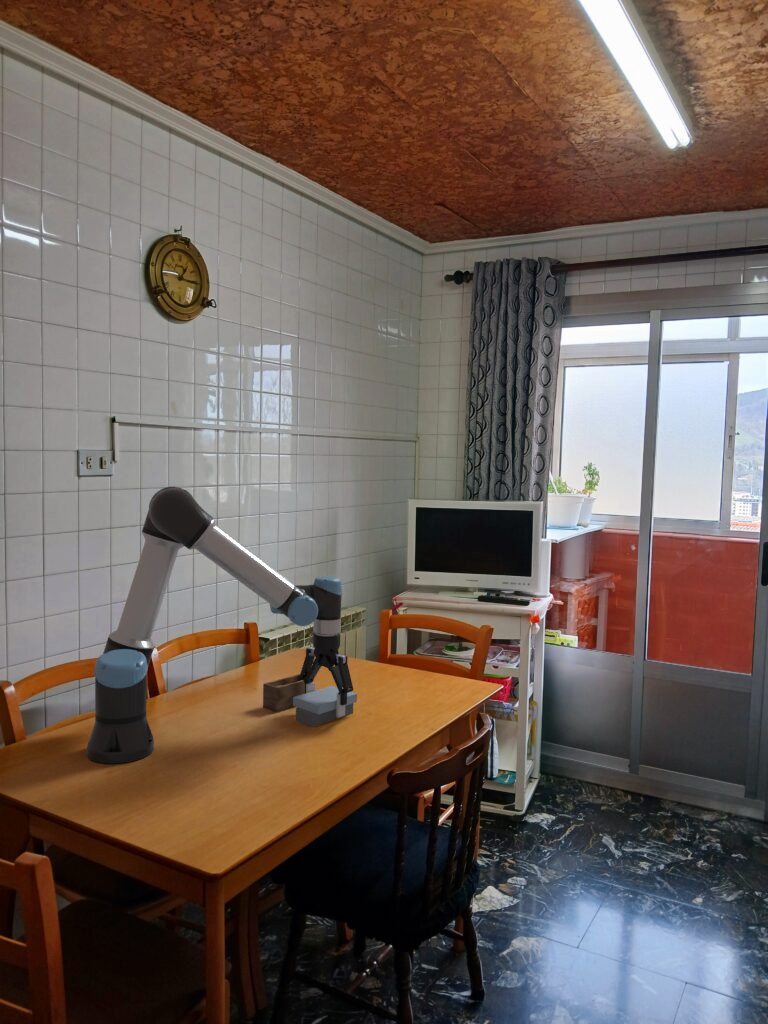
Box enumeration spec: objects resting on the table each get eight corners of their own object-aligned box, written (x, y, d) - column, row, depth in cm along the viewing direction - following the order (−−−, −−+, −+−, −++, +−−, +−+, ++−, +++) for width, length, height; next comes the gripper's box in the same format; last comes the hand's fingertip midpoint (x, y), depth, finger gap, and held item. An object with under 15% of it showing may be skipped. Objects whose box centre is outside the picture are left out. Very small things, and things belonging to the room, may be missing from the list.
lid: (318, 714, 201) (318, 705, 201) (292, 705, 208) (293, 697, 208) (356, 701, 213) (357, 693, 213) (331, 694, 219) (331, 685, 219)
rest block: (312, 727, 202) (312, 713, 202) (295, 721, 207) (296, 707, 206) (353, 712, 215) (353, 700, 214) (336, 707, 219) (337, 695, 218)
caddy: (276, 712, 213) (277, 688, 213) (262, 707, 217) (263, 683, 216) (312, 701, 224) (313, 678, 223) (298, 696, 228) (299, 674, 227)
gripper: (368, 638, 204) (365, 717, 206) (307, 624, 219) (305, 698, 221) (348, 642, 198) (346, 724, 200) (287, 628, 214) (286, 704, 215)
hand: (325, 710), depth 210 cm, fingers open, 11 cm apart
